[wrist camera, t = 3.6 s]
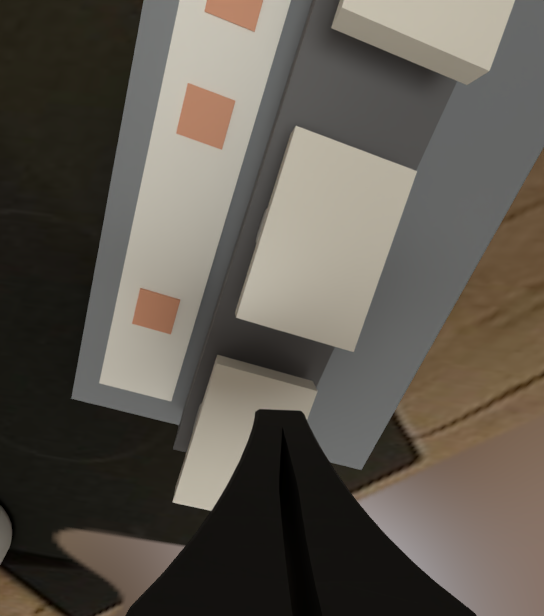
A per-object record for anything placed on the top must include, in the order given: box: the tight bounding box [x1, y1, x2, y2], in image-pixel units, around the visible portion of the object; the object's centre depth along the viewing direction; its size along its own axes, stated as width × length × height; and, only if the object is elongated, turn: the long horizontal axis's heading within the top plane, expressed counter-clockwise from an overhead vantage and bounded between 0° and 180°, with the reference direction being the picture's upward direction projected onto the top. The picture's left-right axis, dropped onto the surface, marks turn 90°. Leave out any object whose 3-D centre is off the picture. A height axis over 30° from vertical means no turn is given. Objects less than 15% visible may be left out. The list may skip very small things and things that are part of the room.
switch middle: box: [235, 126, 417, 352], centre depth 14 cm, size 4×6×2 cm, turn 161°
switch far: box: [173, 355, 318, 511], centre depth 17 cm, size 4×6×2 cm, turn 161°
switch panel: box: [71, 0, 544, 470], centre depth 17 cm, size 16×25×4 cm, turn 161°
